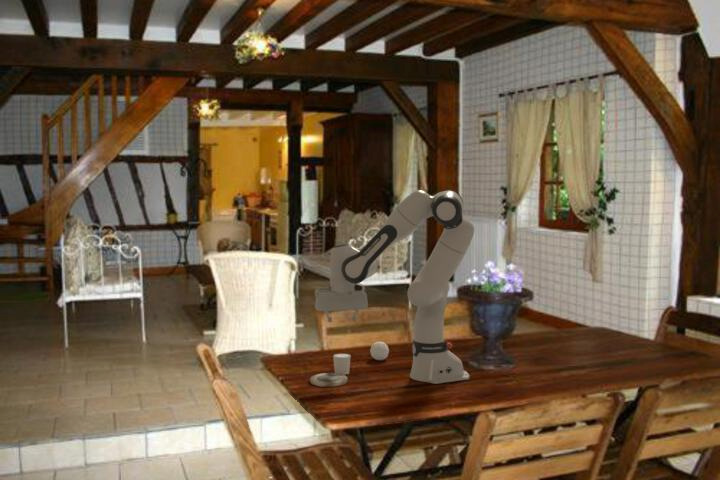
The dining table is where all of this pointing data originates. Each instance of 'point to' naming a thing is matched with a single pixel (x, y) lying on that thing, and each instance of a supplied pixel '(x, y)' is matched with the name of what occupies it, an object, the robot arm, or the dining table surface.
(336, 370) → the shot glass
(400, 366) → the dining table surface
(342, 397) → the dining table surface
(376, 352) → the geometric ball
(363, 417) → the dining table surface
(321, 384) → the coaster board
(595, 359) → the dining table surface
